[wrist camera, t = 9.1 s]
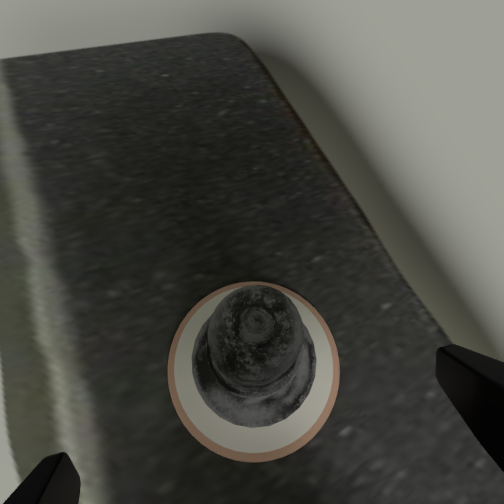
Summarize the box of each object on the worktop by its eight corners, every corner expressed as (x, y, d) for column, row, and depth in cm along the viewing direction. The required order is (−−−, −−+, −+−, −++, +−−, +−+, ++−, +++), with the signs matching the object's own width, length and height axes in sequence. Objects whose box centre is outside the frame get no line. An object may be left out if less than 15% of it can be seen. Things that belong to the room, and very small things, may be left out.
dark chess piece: (327, 367, 19) (427, 321, 8) (251, 449, 18) (251, 528, 7) (255, 294, 21) (259, 176, 10) (180, 363, 19) (87, 311, 8)
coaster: (371, 357, 20) (377, 355, 20) (260, 508, 18) (260, 514, 17) (248, 254, 23) (248, 248, 22) (133, 369, 20) (128, 367, 19)
